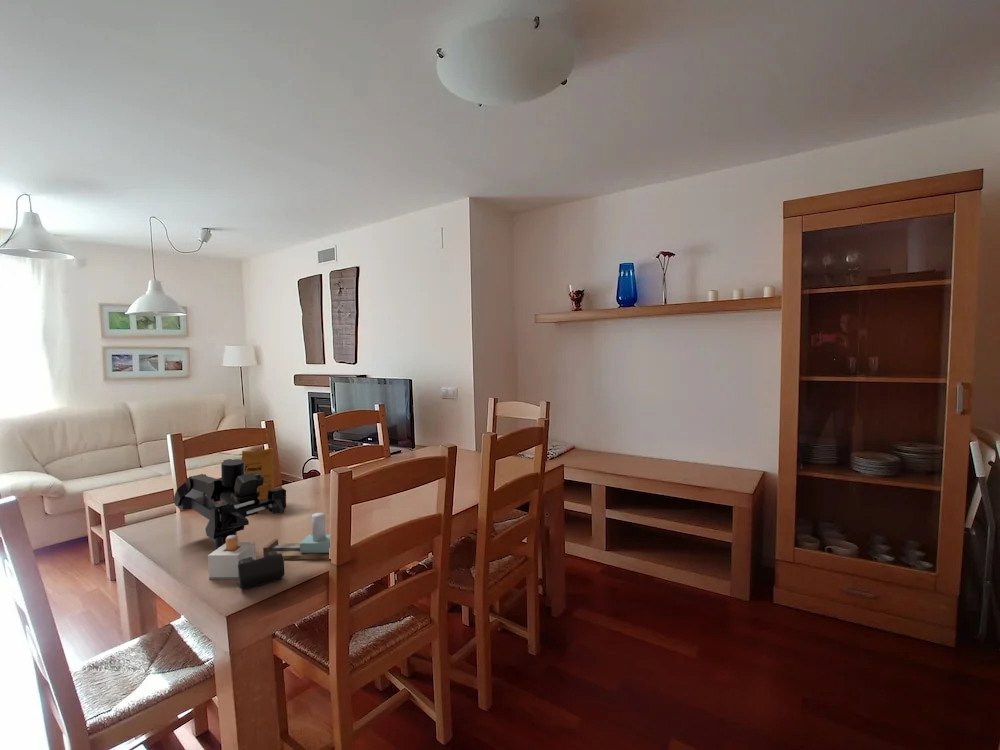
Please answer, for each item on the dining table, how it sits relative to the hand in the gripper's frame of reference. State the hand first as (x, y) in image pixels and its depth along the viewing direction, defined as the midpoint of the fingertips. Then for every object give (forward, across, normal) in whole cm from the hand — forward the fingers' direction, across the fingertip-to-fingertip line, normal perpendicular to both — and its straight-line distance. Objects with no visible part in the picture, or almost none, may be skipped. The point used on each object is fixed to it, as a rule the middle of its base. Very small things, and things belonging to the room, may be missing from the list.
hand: (266, 517), depth 120 cm
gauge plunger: (-10, -4, +11) cm, 16 cm away
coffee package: (-56, +25, +23) cm, 65 cm away
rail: (-4, +13, +17) cm, 22 cm away
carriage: (0, +16, +15) cm, 22 cm away
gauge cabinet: (-10, -4, +18) cm, 20 cm away
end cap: (+3, -2, +16) cm, 17 cm away
